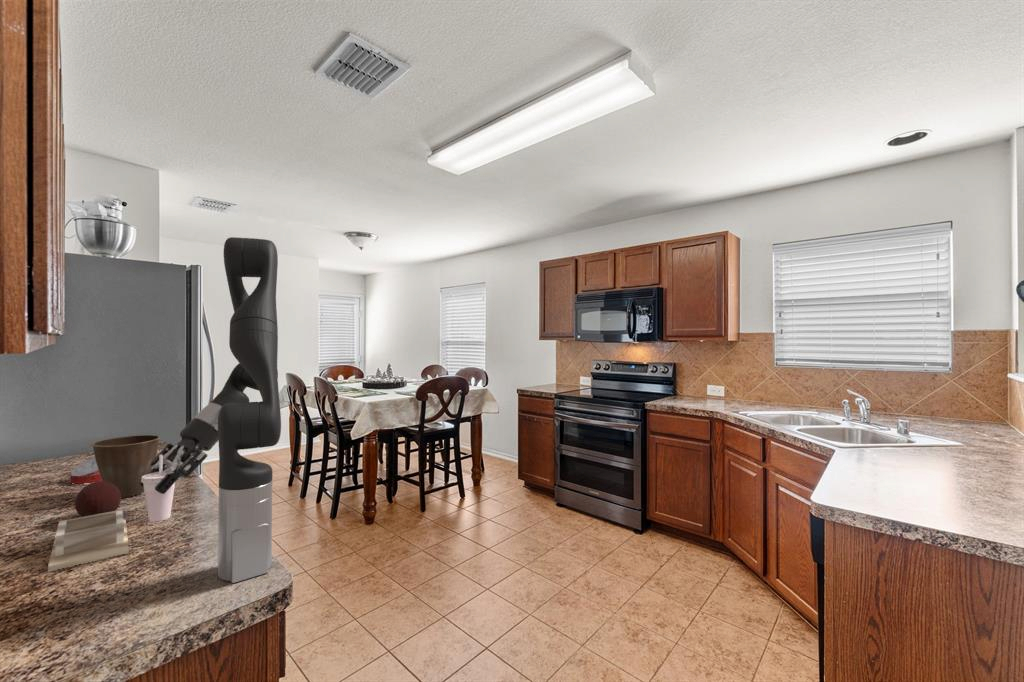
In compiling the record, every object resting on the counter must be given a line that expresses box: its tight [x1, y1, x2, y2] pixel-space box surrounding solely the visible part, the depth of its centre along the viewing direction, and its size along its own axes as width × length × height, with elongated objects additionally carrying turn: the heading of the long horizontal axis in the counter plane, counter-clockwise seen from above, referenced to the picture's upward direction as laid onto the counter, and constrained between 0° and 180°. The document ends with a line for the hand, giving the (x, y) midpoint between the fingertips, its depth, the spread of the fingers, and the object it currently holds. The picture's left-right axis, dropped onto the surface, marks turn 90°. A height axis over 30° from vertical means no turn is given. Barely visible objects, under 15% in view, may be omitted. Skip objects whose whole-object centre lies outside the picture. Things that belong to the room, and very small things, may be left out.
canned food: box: [69, 455, 102, 484], centre depth 146 cm, size 11×10×10 cm
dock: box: [47, 509, 130, 573], centre depth 99 cm, size 20×12×5 cm, turn 42°
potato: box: [74, 481, 122, 517], centre depth 115 cm, size 9×12×9 cm
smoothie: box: [141, 455, 176, 522], centre depth 99 cm, size 6×6×14 cm
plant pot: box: [92, 434, 161, 499], centre depth 132 cm, size 15×15×16 cm
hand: (150, 489), depth 98 cm, fingers closed on smoothie, 6 cm apart
